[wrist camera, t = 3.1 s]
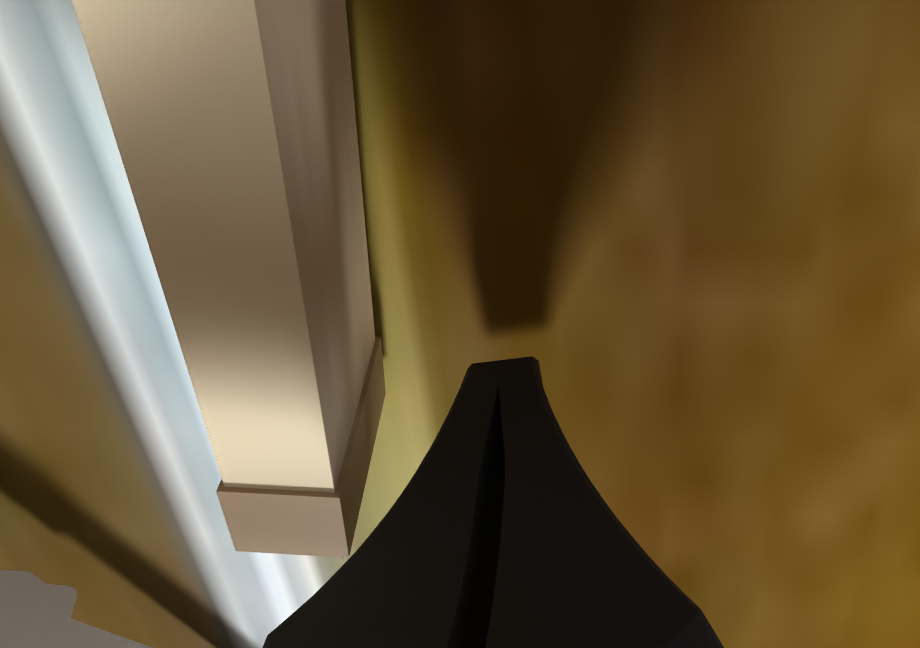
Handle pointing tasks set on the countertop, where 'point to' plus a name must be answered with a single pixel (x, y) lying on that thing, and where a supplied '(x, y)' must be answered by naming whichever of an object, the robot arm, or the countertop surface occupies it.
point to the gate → (255, 244)
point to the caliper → (46, 617)
